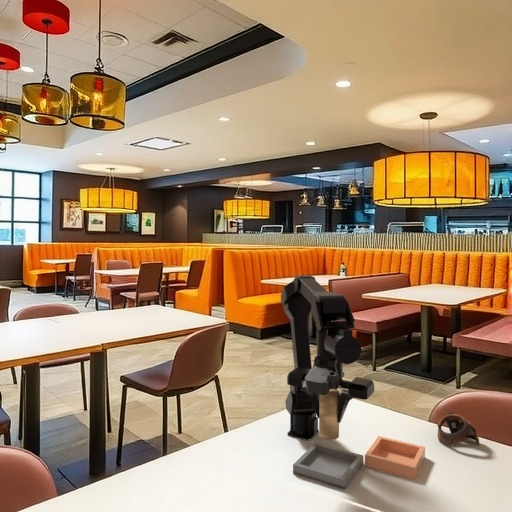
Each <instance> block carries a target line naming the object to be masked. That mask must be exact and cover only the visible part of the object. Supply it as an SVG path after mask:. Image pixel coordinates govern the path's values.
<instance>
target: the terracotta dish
mask: <svg viewBox="0 0 512 512" xmlns="http://www.w3.org/2000/svg"><path fill="white" fill-rule="evenodd" d="M425 458H426V446H423V445H420V444H419V445H418V444H414V443H410V442H405V441H401V440H397V439H393V438H388V437H384V436H381V435H378V436H377V438H376V439H375V441H374V442H373V443H372V444H371V446H370V447H369V448H368V450H367V451H366V453H365V454H364V466H365V467H369V468H372V469H375V470H378V471H383V472H387V473H389V474H390V473H391V474H394V475H398V476H401V477H405V478H408V479H411V480H416V477H417V476H418V473H419V471H420V469H421V468H422V465H423V462H424V461H425Z"/></svg>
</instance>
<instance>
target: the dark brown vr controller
mask: <svg viewBox="0 0 512 512" xmlns="http://www.w3.org/2000/svg"><path fill="white" fill-rule="evenodd" d="M445 423H446V426H448V429H449V432H447V431H444V430H443V429H442V426H443V425H444V424H445ZM437 427H438V429H437V439H438V442H439V443H446V444H449V445H453V444H459V443H465V444H468V442H469V441H468V439H470V440H473V441H475V443H476V444H477V445H478V446H480V439H479V436H478V434H477V430H476V427H475V425H473V423H472V422H470V421H469V420H468V419H466V418H465V416H463V415H461V414H456V413H454V412H453V411H450V412H448V413H447V414H446V415H444V416H443V417H442V418H440V419H439V421H438V422H437Z"/></svg>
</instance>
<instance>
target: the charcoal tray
mask: <svg viewBox="0 0 512 512" xmlns="http://www.w3.org/2000/svg"><path fill="white" fill-rule="evenodd" d="M363 465H364V455H363V454H360V453H355V452H352V451H350V450H349V451H348V450H344V449H341V448H337V447H333V446H328V445H326V444H325V445H324V444H322V443H317V442H314V443H313V444H312V445H311V446H310V447H309V448H308V449H307V450H306V451H305V452H304V453H303V454H302V455H301V456H300V457H299V458H298V459H297V460H296V461H295V462H294V463H293V464H292V474H293V475H297V476H300V477H304V478H305V479H309V480H313V481H316V482H319V483H322V484H325V485H329V486H331V487H336V488H338V489H341V490H346V489H347V488H348V486H349V485H350V484H351V482H353V481H352V480H353V479H354V478H355V476H356V475H357V474H358V473H359V471H360V470H361V468H362V467H363Z"/></svg>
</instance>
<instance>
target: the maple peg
mask: <svg viewBox="0 0 512 512" xmlns="http://www.w3.org/2000/svg"><path fill="white" fill-rule="evenodd" d="M339 394H340V390H338V389H337V390H335V389H331V390H329V393H328V394H327V395H320V394H319V418H318V430H319V432H318V433H319V437H320V438H321V439H324V440H327V441H333V440H337V439H339V437H340V423H338V419H337V415H338V402H339V401H338V398H337V396H338V395H339Z"/></svg>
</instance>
